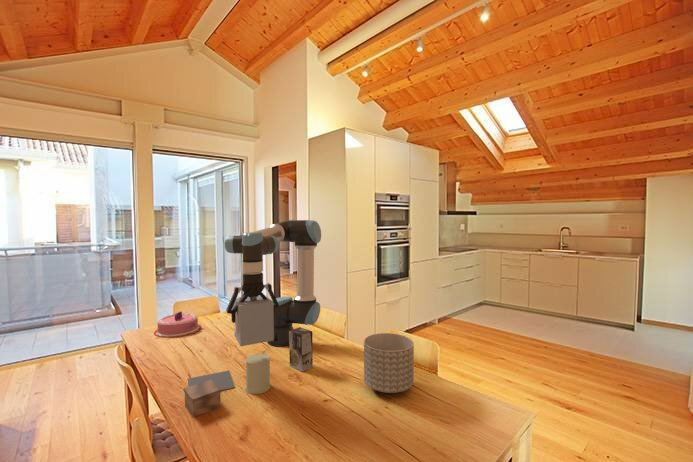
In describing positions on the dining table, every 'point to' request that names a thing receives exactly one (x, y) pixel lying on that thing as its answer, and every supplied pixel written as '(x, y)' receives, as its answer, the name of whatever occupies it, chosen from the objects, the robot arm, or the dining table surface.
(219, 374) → the mat
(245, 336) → the cover
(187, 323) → the cake
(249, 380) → the can
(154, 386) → the dining table surface
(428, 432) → the dining table surface
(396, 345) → the planter
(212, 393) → the box
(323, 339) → the dining table surface
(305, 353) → the coffee box
